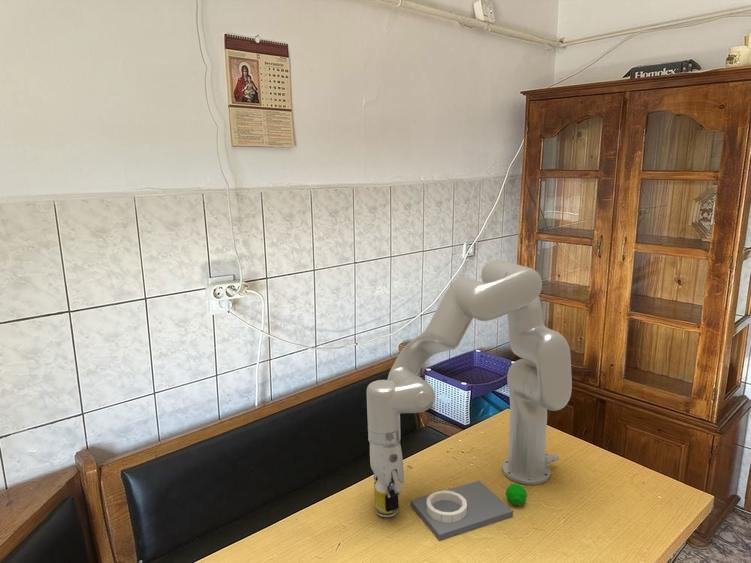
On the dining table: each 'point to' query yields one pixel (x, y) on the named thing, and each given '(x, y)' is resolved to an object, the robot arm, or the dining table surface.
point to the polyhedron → (516, 494)
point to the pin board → (475, 510)
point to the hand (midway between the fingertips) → (386, 501)
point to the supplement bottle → (382, 500)
